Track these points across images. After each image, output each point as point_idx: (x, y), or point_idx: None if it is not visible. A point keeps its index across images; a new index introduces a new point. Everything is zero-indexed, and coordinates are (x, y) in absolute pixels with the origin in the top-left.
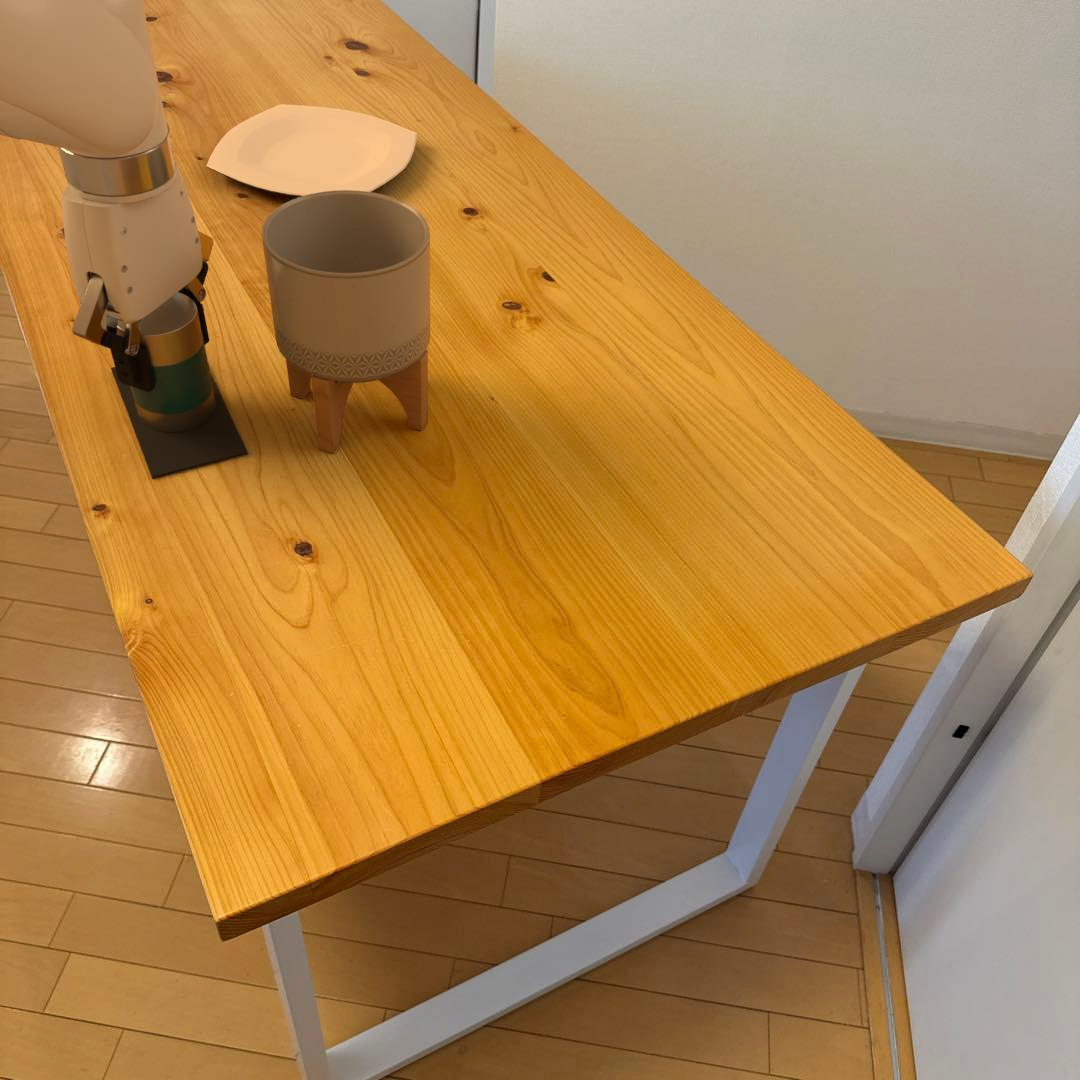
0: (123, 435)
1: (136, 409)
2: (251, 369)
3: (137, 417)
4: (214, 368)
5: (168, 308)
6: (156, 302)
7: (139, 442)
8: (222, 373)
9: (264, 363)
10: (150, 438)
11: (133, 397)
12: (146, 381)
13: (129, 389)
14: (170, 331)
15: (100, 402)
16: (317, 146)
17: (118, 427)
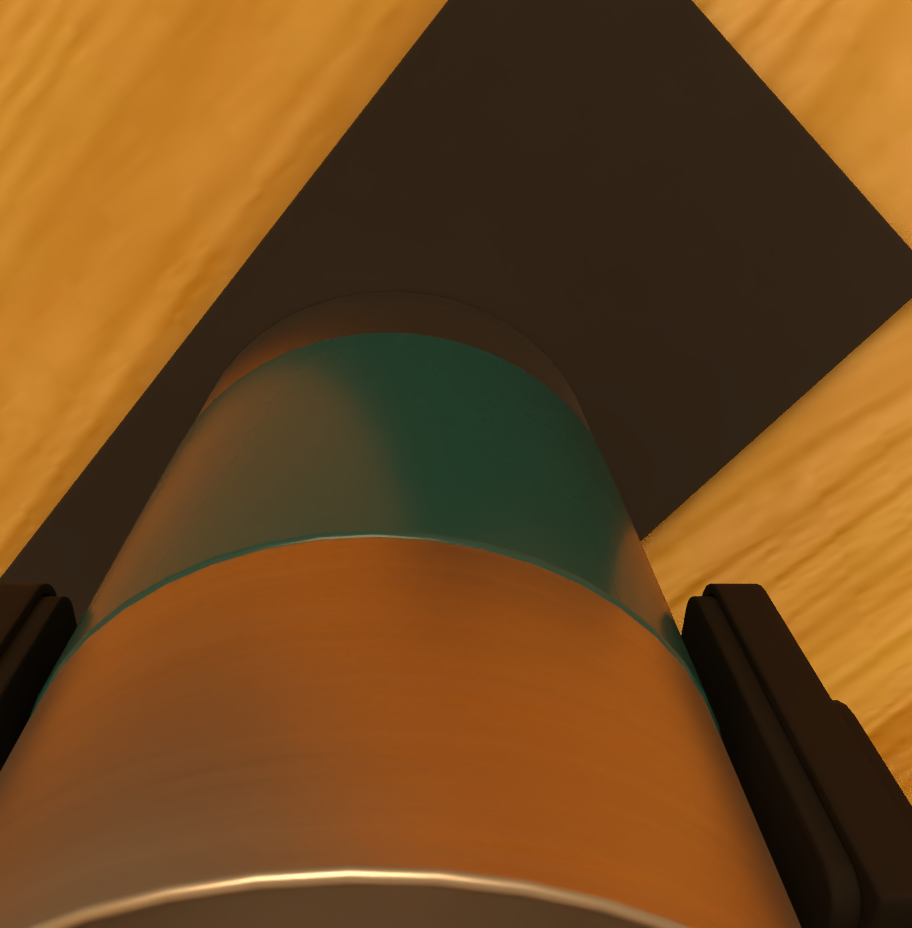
0: (89, 357)
1: (276, 311)
2: (837, 580)
3: (224, 357)
4: (793, 430)
5: None
6: None
7: (76, 484)
8: (764, 487)
9: (901, 604)
10: (134, 507)
11: (184, 437)
12: None
13: (413, 148)
14: None
15: (238, 36)
16: None
17: (122, 292)
